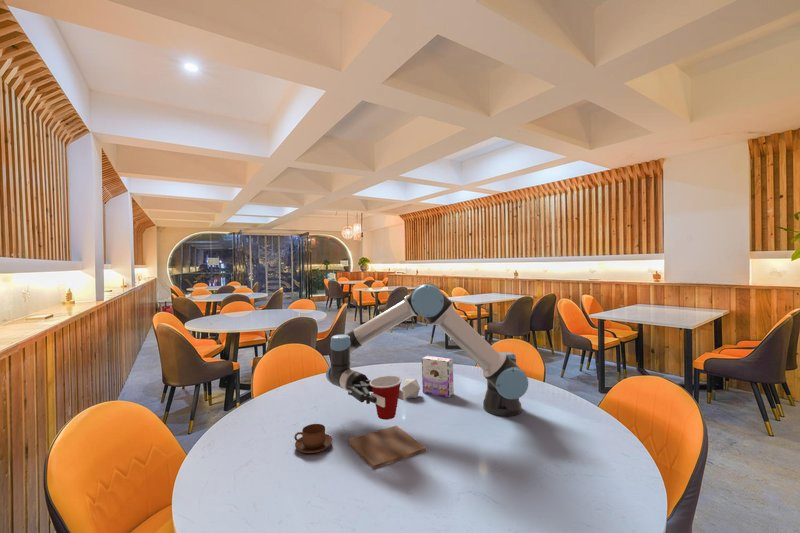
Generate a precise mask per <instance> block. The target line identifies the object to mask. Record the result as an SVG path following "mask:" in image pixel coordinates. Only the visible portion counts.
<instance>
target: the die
mask: <svg viewBox="0 0 800 533" xmlns="http://www.w3.org/2000/svg"><path fill="white" fill-rule="evenodd" d="M401 390H402V391H404V392H405V399H418V395H419V393H420V390H421V386H420V384H419V382H418V380H417V378H405V380H404V382H403V385H402V387H401Z"/></svg>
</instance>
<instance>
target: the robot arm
mask: <svg viewBox="0 0 800 533" xmlns="http://www.w3.org/2000/svg"><path fill="white" fill-rule="evenodd" d="M453 305H454V304H453V302H452V301H451V300H450V299H449V297H447V296H446V294H444V293H443V292H442V291H441V290H440V288H439V287H437V285H436V284H433V283H431V282H428V283H427V282H426V283H422V284H419V285H418V286H417V287H416V288H415V289H414V290H412V291H411V292H409V293H408V294H407V295H405V297H404V299H403V300H402V301H399V302H398V303H396V304H395V305H393V306H391V307H389V308H388V309H386V310H385V311H383V312H381V313H380V314H378V315H376V316H374V317H373V318H371V319H369V320H368V321H366V322H365V323H363V324H361V325H359V326H358V327H356V328H354V329H353V330H351V331H349V332H347V333H345V334H335V335H332V336H331V337H330V346H329V347H330V366H329V367H327V370H326V372H325V377H326V379H327V381H328V382H329V383H331V384H332V385H334V386H336V387H339V388H341V389H343V390H345V391H347V395H348V396H351V397H352V398H355V400H357V401H359V402H360V403H364V402H365V401H366V402H365V403H366V405H369V404H370V403H373V404H377V405H379V406H381V407H385V398H383V397H381V396H379V395H377V394H374V393H373V390H372V387H371V385H370V384H369V383H370V381H371V380H372V379H369V378H368V377H367V375H365V374H364V373H361V372H359V371H357V370H354V369H351V354H352V353H353V352H354V351H355V350H357V349H359V348H360V347H362V346H363V345H365V344H367V343H369V342H371V341H372V340H374V339H375V338H377V337H379V336H381V335H382V334H384V333H386V332H387V331H388V332H389V330H391V329H393V328H394V327H396V326H398V325H400V324H402V323H404V322H405V321H407V320H408V319H410V318H412V317H413V316H414V317H418V316H421V317H423V318H424V319H425V320H426V321H427V322H428V323H429V324H430V325H432V326H438V328H440V329H441V330H442V331H443V333H445V334H446V336H448V337H449V338H450V339H451V340H452V342H454V343H455V344H456V345H457V346H458V347H459V348H460V349H461V350H462V351H463V352H464V353H465V354H466V355H467V356H468V357H469V358H470V359H471V360H473V362H474V363H476V364H477V366H478V367H479V368H481V369H482V375H483V377H484V378H485V379H486V384H487V387H486V392H485V395H484V399H483V401H482V405H483V410H484V411H485V412H486V413H489V414H492V415H495V416H500V417H501V416H502V417H512V416H513V417H514V416H517V415H519V414H521V413H522V403H521V402H520V398H522V397H523V396H524V395H525V394H526V393H527V391H528V388H529V378H528V376H527V373H526V372H525V371H524V370H523V369H522V368H521V367H520V366H519V365H518V364H517V355H516V354H515V353H513V352H508V351H507V352H504V351H497V350H496V349H495V348H494V347H493V346H492V345H491V344H490V343H489V342H488V341H487V340H486V339H485V338H484V337H483V336H481V334H480V333H478V332H477V330H475V329H474V328H473V327H472V326H471V324H469V323H468V321H466V320H465V319H464V318H463V317H462V316H461V315H460V314H459V313H458V312H457V310H455V309H454V307H453ZM398 400H401V401H403V402H404V401H406V398H405V392H404V391H403V390H402V389H400V390H399V396H398Z"/></svg>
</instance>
